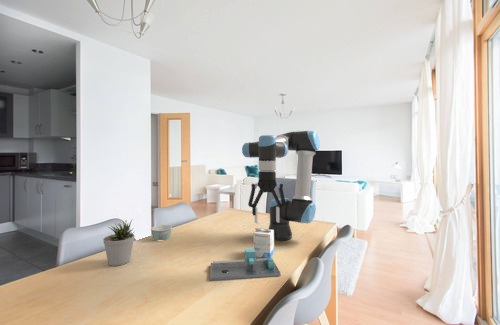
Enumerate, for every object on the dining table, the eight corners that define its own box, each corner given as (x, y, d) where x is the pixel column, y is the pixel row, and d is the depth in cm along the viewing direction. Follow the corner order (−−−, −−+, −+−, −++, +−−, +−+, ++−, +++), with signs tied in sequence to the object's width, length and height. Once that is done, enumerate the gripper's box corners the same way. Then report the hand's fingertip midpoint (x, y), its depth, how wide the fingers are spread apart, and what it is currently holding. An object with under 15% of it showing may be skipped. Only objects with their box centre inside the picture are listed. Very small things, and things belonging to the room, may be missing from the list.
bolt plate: (272, 261, 114) (272, 252, 114) (280, 275, 100) (280, 265, 100) (210, 265, 110) (210, 256, 110) (210, 280, 96) (210, 270, 96)
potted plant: (102, 271, 104) (101, 224, 104) (104, 259, 116) (103, 217, 116) (135, 265, 110) (135, 220, 109) (133, 255, 122) (133, 214, 122)
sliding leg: (253, 261, 110) (253, 248, 110) (256, 269, 103) (256, 255, 103) (244, 262, 110) (244, 248, 110) (247, 269, 102) (247, 255, 102)
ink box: (274, 252, 125) (274, 226, 125) (270, 258, 118) (270, 230, 117) (258, 250, 128) (258, 224, 128) (253, 256, 120) (253, 229, 120)
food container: (155, 243, 139) (155, 231, 139) (147, 238, 148) (147, 227, 148) (175, 238, 147) (175, 227, 147) (167, 234, 156) (167, 223, 156)
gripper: (288, 170, 114) (288, 219, 114) (241, 170, 111) (241, 221, 111) (293, 171, 107) (293, 223, 107) (243, 171, 103) (243, 225, 104)
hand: (266, 222), depth 109 cm, fingers open, 9 cm apart
